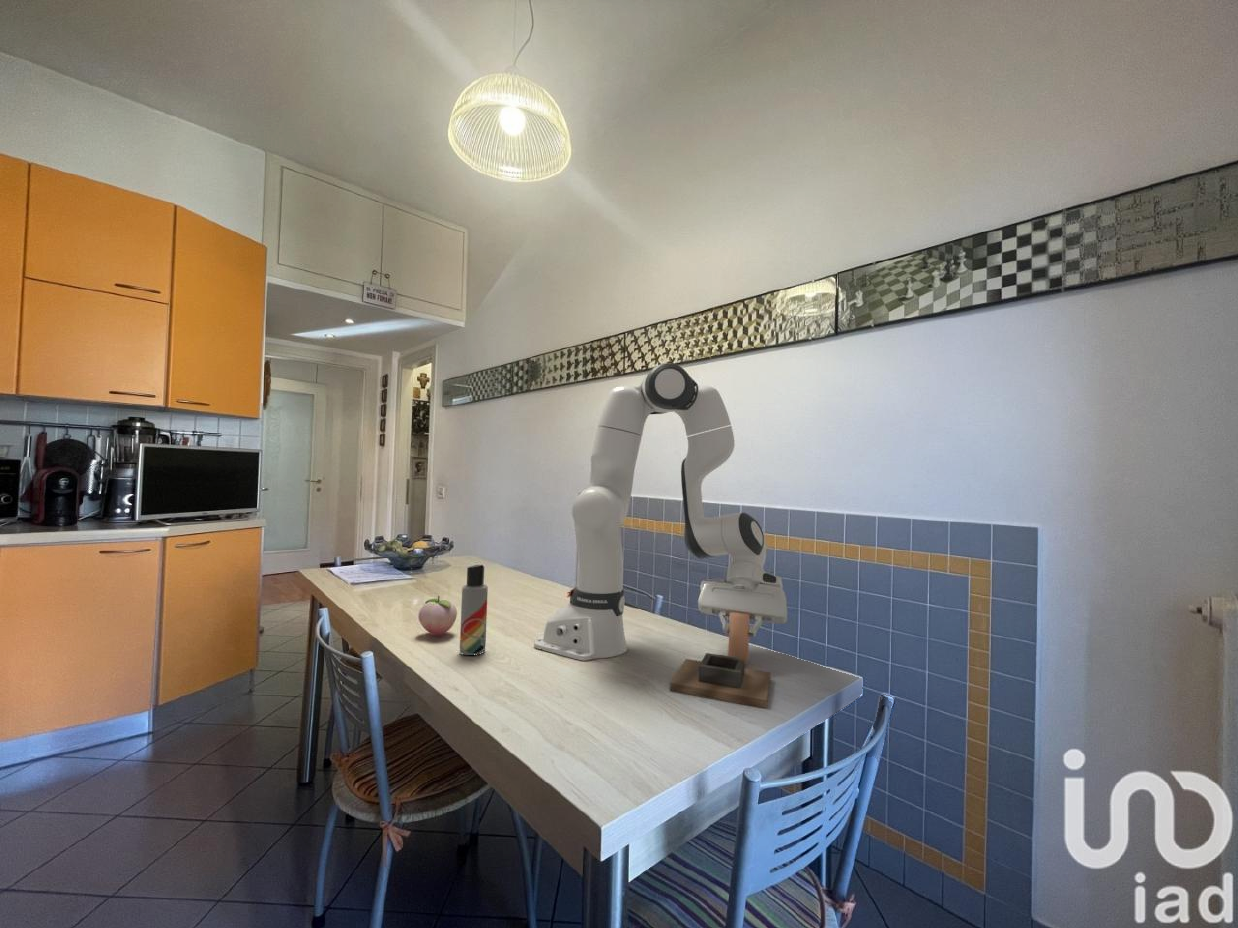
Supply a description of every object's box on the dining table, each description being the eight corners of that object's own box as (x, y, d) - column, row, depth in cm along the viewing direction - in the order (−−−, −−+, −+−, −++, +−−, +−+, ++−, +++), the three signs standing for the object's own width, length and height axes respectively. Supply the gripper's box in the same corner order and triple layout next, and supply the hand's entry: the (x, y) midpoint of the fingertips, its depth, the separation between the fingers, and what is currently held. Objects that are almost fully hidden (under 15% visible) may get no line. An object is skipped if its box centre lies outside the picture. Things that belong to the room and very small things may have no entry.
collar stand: (669, 690, 95) (670, 667, 95) (685, 665, 108) (686, 645, 108) (766, 708, 89) (766, 683, 89) (770, 679, 102) (770, 657, 102)
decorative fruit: (463, 633, 125) (465, 594, 126) (441, 643, 118) (443, 601, 118) (434, 628, 129) (436, 590, 129) (411, 637, 121) (413, 596, 121)
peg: (726, 660, 109) (728, 615, 109) (729, 654, 113) (730, 610, 113) (747, 664, 107) (748, 618, 107) (749, 657, 111) (750, 613, 112)
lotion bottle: (477, 657, 109) (481, 567, 110) (454, 655, 110) (458, 566, 111) (489, 649, 115) (492, 563, 115) (467, 646, 116) (470, 562, 116)
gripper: (700, 569, 121) (691, 619, 111) (788, 578, 113) (786, 633, 104) (703, 584, 125) (694, 633, 115) (788, 594, 118) (785, 647, 108)
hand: (738, 633), depth 110 cm, fingers closed on peg, 4 cm apart
